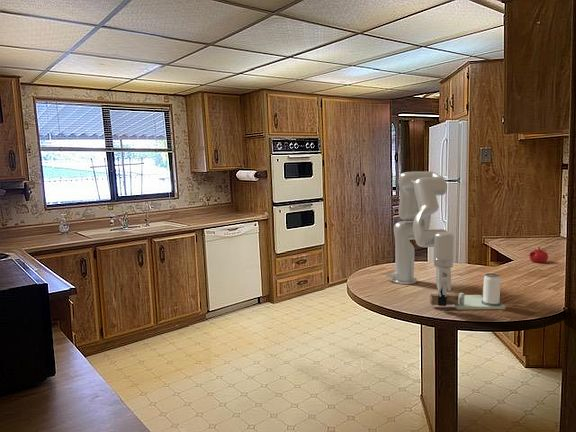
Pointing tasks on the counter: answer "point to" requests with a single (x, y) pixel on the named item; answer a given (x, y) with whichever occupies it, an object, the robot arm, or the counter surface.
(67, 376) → the counter surface
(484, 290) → the can
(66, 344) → the counter surface
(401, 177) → the robot arm
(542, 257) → the pomegranate
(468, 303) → the board
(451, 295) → the leg
